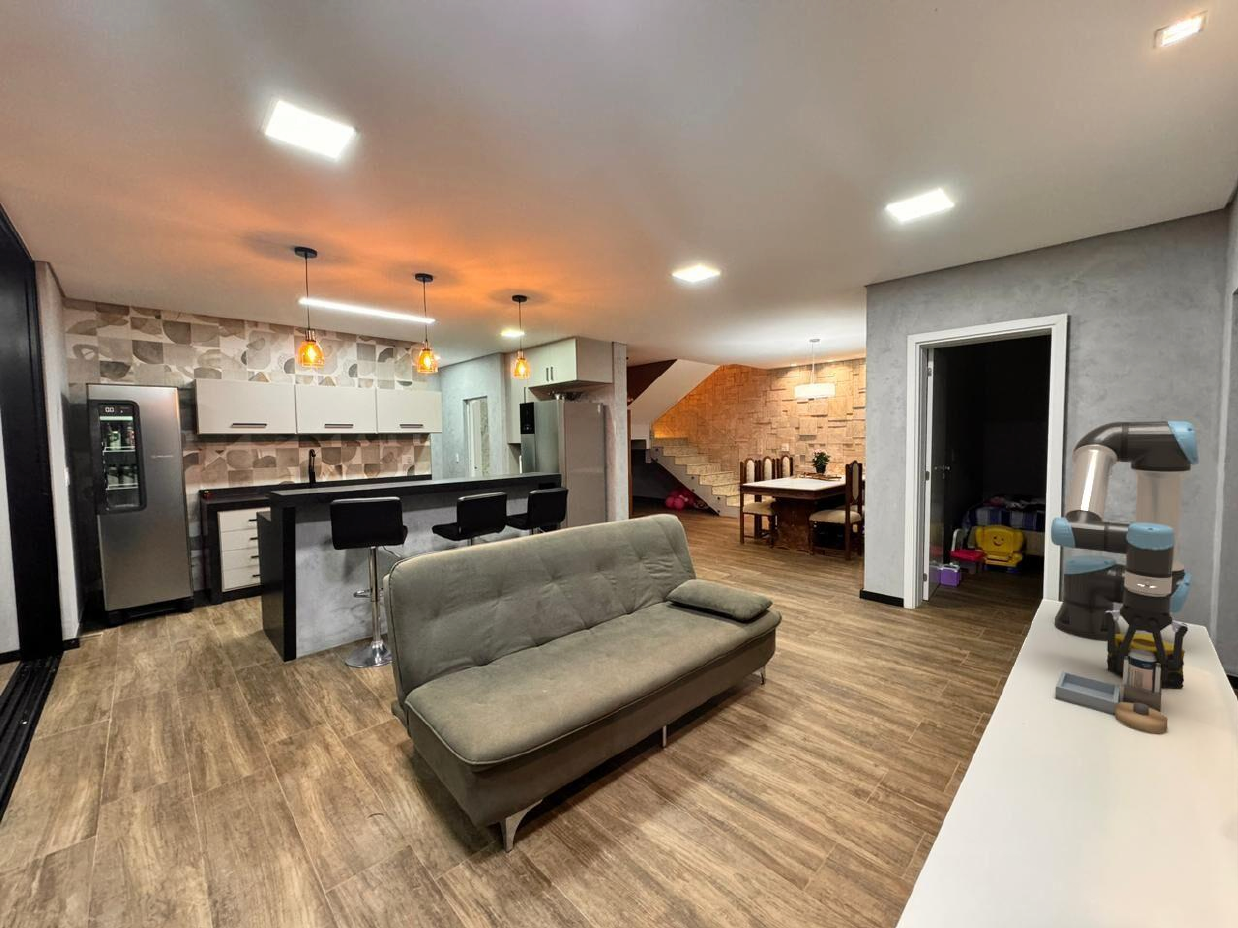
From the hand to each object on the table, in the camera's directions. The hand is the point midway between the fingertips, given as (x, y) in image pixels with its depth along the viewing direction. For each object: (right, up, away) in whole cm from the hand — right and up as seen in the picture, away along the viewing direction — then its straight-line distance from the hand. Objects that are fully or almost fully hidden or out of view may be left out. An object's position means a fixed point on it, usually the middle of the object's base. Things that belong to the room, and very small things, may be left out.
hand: (1140, 688), depth 120 cm
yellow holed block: (+12, -3, +11) cm, 16 cm away
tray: (-10, -4, +3) cm, 11 cm away
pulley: (-7, -4, -7) cm, 11 cm away
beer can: (0, -4, 0) cm, 3 cm away
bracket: (0, -4, 0) cm, 4 cm away
